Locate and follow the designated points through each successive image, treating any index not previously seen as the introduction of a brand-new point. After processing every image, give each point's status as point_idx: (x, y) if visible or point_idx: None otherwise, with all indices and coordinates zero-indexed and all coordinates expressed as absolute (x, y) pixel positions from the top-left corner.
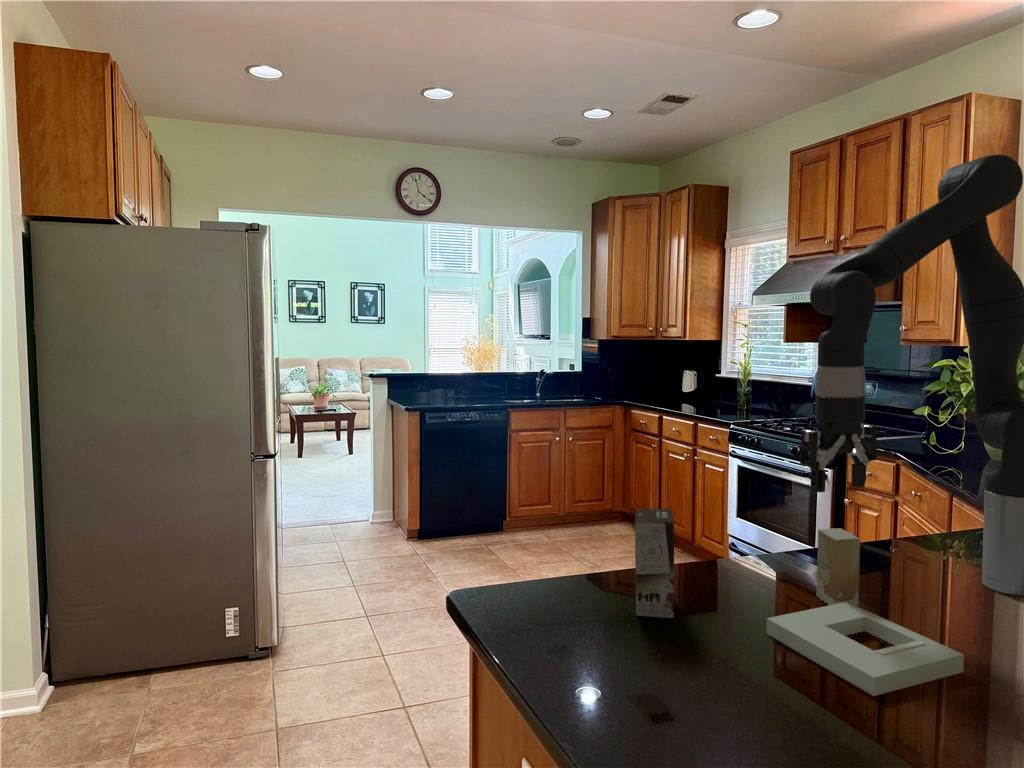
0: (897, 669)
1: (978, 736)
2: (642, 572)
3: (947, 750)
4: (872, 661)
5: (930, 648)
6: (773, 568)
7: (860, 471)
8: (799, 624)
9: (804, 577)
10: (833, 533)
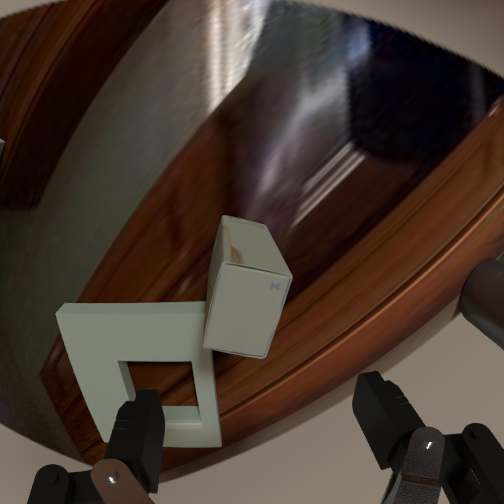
0: None
1: None
2: None
3: None
4: None
5: (199, 433)
6: (254, 59)
7: (373, 448)
8: (87, 345)
9: (276, 123)
10: (231, 311)
